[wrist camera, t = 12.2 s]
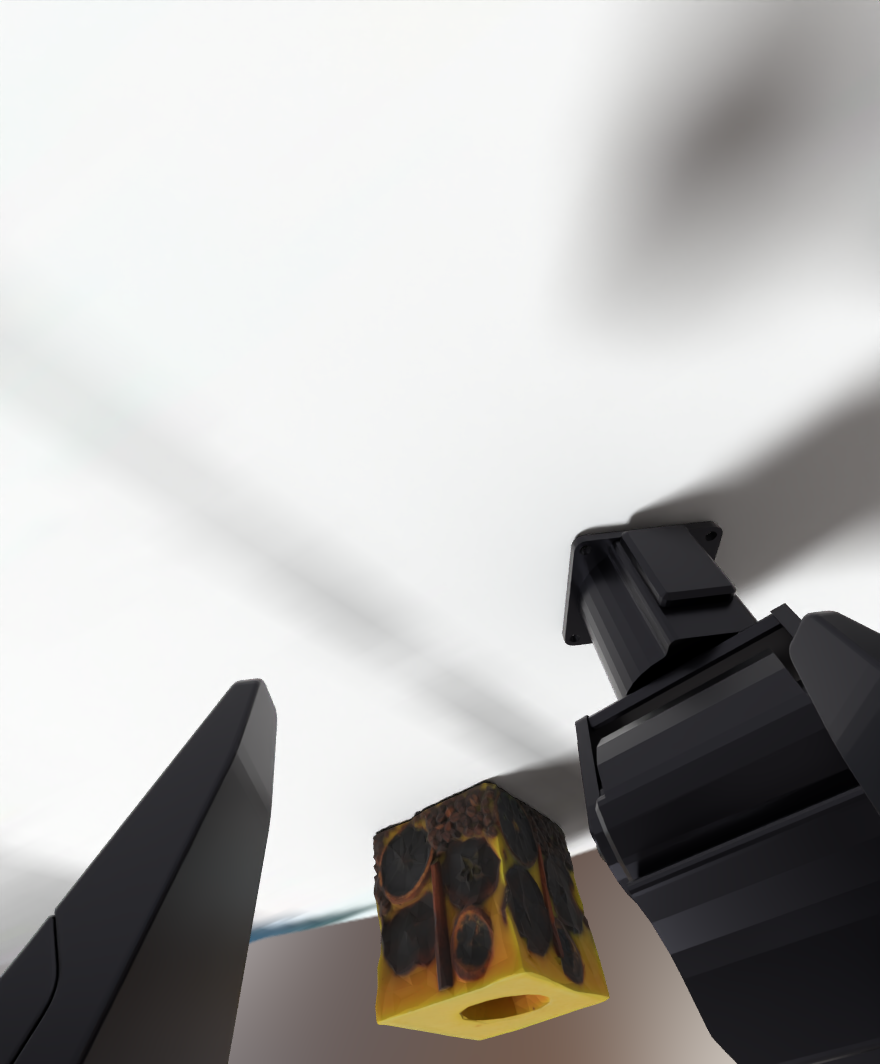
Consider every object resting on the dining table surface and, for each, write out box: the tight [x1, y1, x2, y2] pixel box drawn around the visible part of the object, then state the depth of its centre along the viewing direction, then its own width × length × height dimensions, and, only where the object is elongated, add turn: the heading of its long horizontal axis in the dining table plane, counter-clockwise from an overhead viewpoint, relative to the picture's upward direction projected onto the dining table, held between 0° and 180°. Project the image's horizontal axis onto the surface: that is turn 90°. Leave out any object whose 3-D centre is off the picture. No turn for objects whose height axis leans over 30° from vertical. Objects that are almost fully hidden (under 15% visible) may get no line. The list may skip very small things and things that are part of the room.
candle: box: [373, 783, 610, 1040], centre depth 34 cm, size 10×10×10 cm
